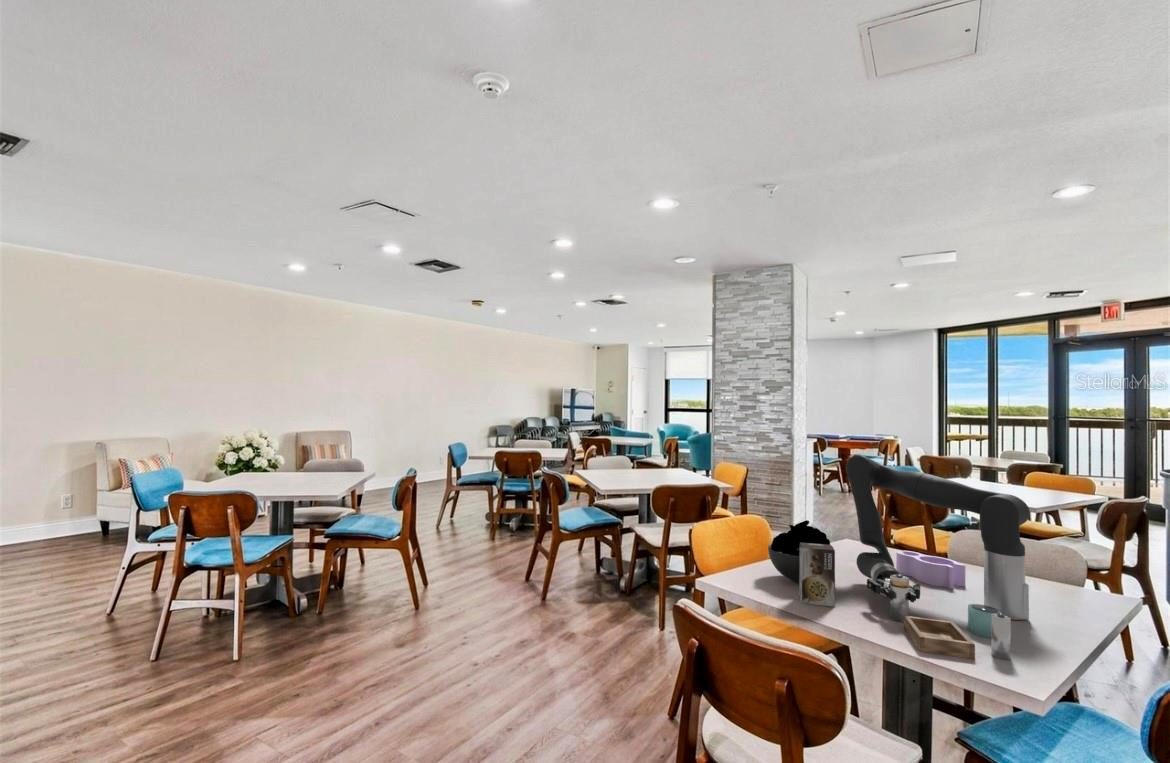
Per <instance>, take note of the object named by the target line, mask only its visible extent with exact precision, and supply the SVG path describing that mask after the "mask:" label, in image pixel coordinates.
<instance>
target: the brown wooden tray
mask: <svg viewBox="0 0 1170 763" xmlns="http://www.w3.org/2000/svg"><path fill="white" fill-rule="evenodd" d="M903 630H904V631H905V632H906V634H907V635H908V636H909V637H910V639H911V641H912V642H913V643H914V645H915V646H916V648H917V649H918V651H919V652H923V653H929V654H936V655H944V656H945V655H946V656H952V657H956V658H957V657H959V658H964V659H965V658H966V659H972V660H975V659H976V644H975V643H974V642H973V641H972V640H971V638H970V637H969V636H967V634H966V633H964V631H963V630H961V628H960V627H959V626H958V625H957V624H956V623H955V622H954V621H951V620H949V621H948V620H940V619H933V618H925V617H918V616H911V615H909V616H904V622H903Z"/></svg>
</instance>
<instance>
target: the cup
mask: <svg viewBox="0 0 1170 763" xmlns="http://www.w3.org/2000/svg"><path fill="white" fill-rule="evenodd" d="M997 613H1002V612H1001V611H1000V610H999V609H996V608H994V607H990V606H986V605H984V604H980V603H970V604H968V605H967V630H968V632H970V633H971V634H974V635H976V636H979V637H983V638H988V639H991V614H997Z"/></svg>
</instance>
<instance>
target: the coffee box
mask: <svg viewBox="0 0 1170 763" xmlns="http://www.w3.org/2000/svg"><path fill="white" fill-rule="evenodd" d="M835 557H836V550H835V549H834V546H833V545H832V544H830V545H825V544H814V543H801V542H800V575H799V582H798V583H799V588H798V590H799V594H798V596H799V599H800V603H801V604H807V605H814V606H815V605H816V606H824V607H835V608H836V558H835Z"/></svg>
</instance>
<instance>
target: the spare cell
mask: <svg viewBox="0 0 1170 763" xmlns="http://www.w3.org/2000/svg"><path fill="white" fill-rule="evenodd" d="M1011 621H1012V619H1011V618H1010V617H1008V616H1005V615H1004V614H1002V613H997V614H991V638H990V639H991V642H990V645H991V652H990V653H991V656H992V657H994V658H996V659H999V660H1002V661H1003V660H1005V661H1010V660H1011V659H1012V624H1011V623H1012V622H1011Z"/></svg>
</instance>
